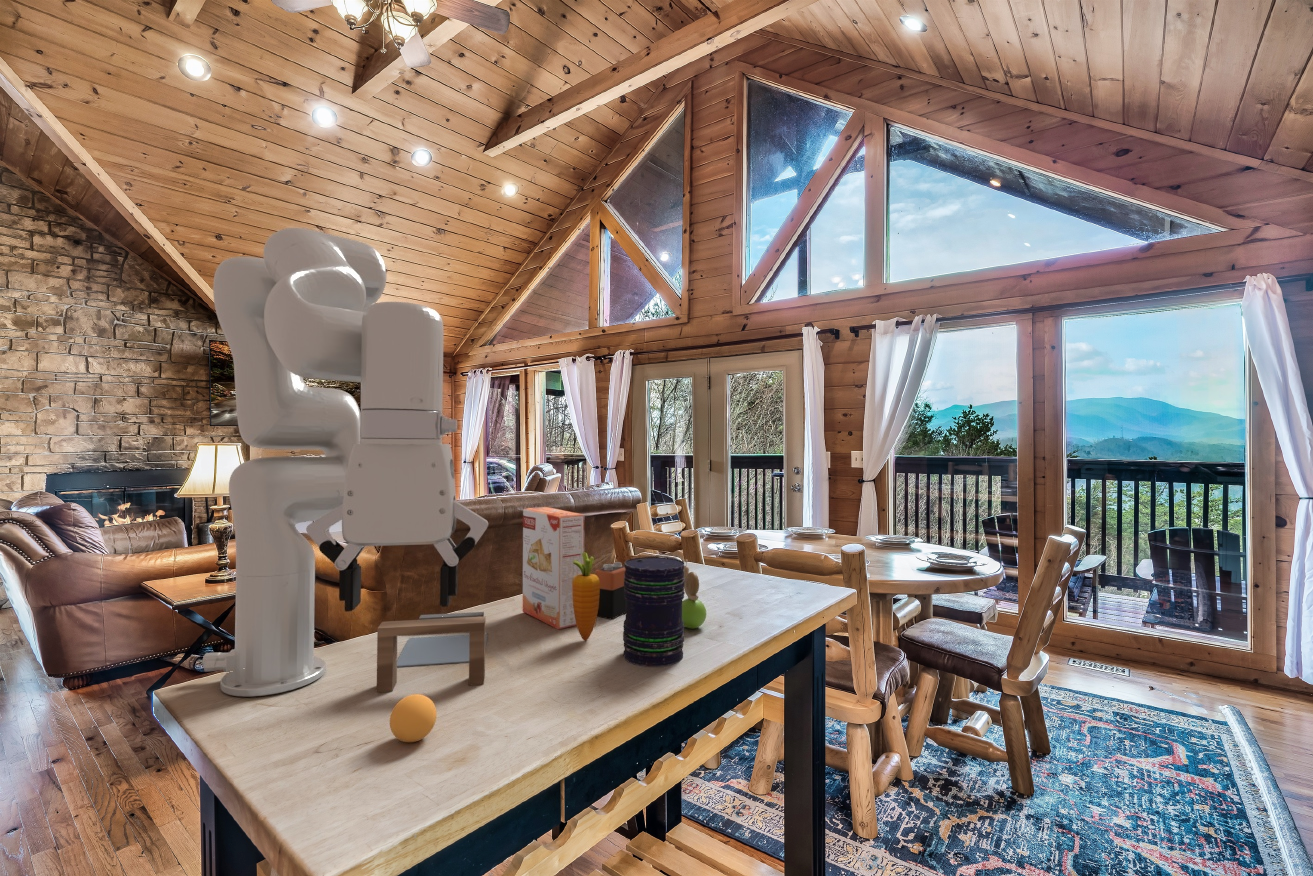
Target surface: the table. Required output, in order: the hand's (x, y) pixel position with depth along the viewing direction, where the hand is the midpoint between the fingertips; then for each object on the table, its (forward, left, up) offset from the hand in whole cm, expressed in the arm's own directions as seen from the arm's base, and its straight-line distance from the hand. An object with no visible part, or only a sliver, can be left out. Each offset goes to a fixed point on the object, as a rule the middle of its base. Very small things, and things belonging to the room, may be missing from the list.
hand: (399, 604), depth 60 cm
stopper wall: (0, +51, -18) cm, 54 cm away
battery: (+30, +55, -18) cm, 65 cm away
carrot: (+23, +40, -18) cm, 49 cm away
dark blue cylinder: (+33, +30, -18) cm, 48 cm away
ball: (0, +10, -16) cm, 18 cm away
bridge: (0, +26, -18) cm, 31 cm away
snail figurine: (+43, +44, -18) cm, 64 cm away
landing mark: (0, +40, -18) cm, 43 cm away
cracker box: (+18, +54, -18) cm, 59 cm away
